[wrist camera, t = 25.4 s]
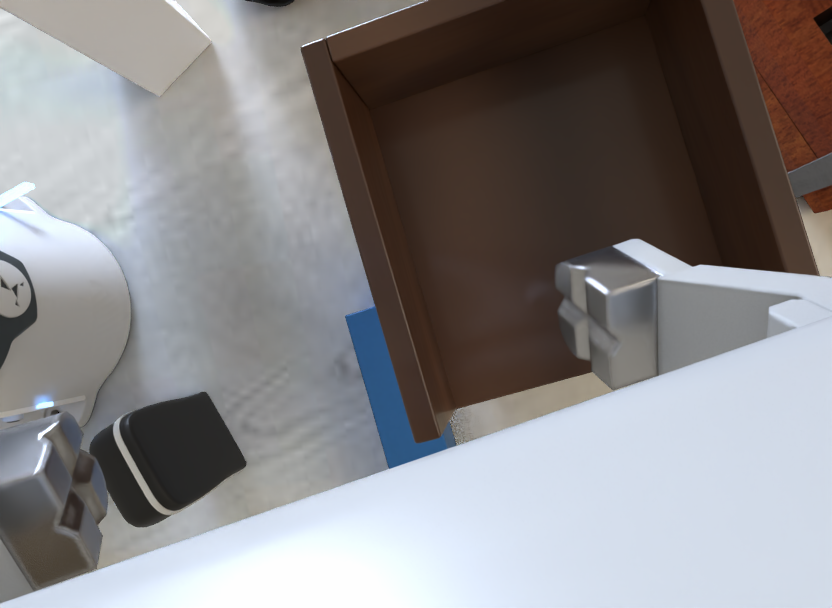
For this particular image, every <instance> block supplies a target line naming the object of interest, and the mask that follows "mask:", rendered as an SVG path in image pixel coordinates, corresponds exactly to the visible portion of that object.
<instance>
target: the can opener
mask: <svg viewBox="0 0 832 608" xmlns="http://www.w3.org/2000/svg"><path fill="white" fill-rule="evenodd" d="M246 1H251V2H258V3H261V4H264V5H268V6H274V7H281V6H286V5H288V4H290V3H292V2H293V1H294V0H246Z"/></svg>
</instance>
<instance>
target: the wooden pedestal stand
mask: <svg viewBox="0 0 832 608" xmlns="http://www.w3.org/2000/svg"><path fill="white" fill-rule="evenodd" d="M301 53H302V56H303V59H304V63H305V66H306V70H307V73H308V77H309V80H310V83H311V87H312V90H313V94H314V97H315V101H316V104H317V108H318V111H319V114H320V118H321V121H322V125H323V128H324V132H325V135H326V139H327V142H328V145H329V149H330V152H331V156H332V159H333V163H334V166H335V170H336V173H337V176H338V180H339V183H340V187H341V190H342V194H343V197H344V200H345V204H346V207H347V211H348V214H349V218H350V221H351V225H352V228H353V231H354V235H355V238H356V242H357V245H358V249H359V252H360V256H361V259H362V262H363V266H364V269H365V273H366V276H367V280H368V283H369V287H370V290H371V293H372V297H373V300H374V304H375V307H376V311H377V314H378V318H379V321H380V324H381V328H382V331H383V335H384V338H385V342H386V345H387V348H388V352H389V355H390V359H391V362H392V366H393V369H394V373H395V376H396V379H397V383H398V386H399V390H400V393H401V397H402V400H403V404H404V407H405V410H406V414H407V417H408V421H409V424H410V428H411V431H412V435H413V438H414V441H415V443H417V444H419V443H423V442H427V441H430V440H434V439H438V438H440V437H441V436H442V434H443V432H444V430H445V428H446V426H447V424H448V423H449V421H450V419H451V417H452V415H453V413H454V411H455V409H458V408H462V407H465V406H469V405H473V404H476V403H480V402H484V401H487V400H491V399H495V398H498V397H502V396H506V395H509V394H513V393H517V392H521V391H524V390H528V389H532V388H535V387H539V386H543V385H546V384H550V383H554V382H557V381H561V380H565V379H568V378H572V377H576V376H579V375H583V374H587V373H590V372H592V371H591V361H587V360H583V359H579V358H577V357H576V356H575V355H574V354H573V353H572V352H571V351H570V349H569V348H568V346H567V345H566V343H565V342H564V339H563V336H562V333H561V330H560V328H559V320H558V312H557V310H558V308H559V306H560V304H561V303H562V301H563V299H564V296H563V295H562V294H561V293H560V292H559V291H558V290H557V289H556V288H555V278H554V274H555V267H556V265H557V264H559V263H561V262H563V261H566V260H569V259H572V258H575V257H578V256H581V255H584V254H587V253H590V252H593V251H596V250H599V249H603V248H606V247H609V246H614V245H616V244H619V243H622V242H625V241H628V240H630V239H640V240H642V241H644V242H646V243H648V244H650V245H652V246H654V247H656V248H658V249H659V250H661V251H663V252H665V253H667V254H669V255H671V256H673V257H675V258H677V259H678V260H680V261H682V262H684V263H686V264H688V265H690V266H692V267H694V266H698V265H710V266H721V267H731V268H742V269H752V270H763V271H773V272H784V273H794V274H805V275H815V276H820V275H819V271H818V268H817V265H816V262H815V259H814V256H813V252H812V249H811V246H810V243H809V240H808V236H807V233H806V230H805V227H804V224H803V221H802V217H801V214H800V211H799V208H798V205H797V201H796V198H795V195H794V192H793V189H792V186H791V182H790V179H789V176H788V173H787V170H786V166H785V163H784V160H783V157H782V154H781V151H780V147H779V144H778V141H777V138H776V135H775V131H774V128H773V125H772V122H771V119H770V116H769V112H768V109H767V106H766V103H765V100H764V96H763V93H762V90H761V87H760V84H759V81H758V77H757V74H756V71H755V68H754V65H753V61H752V58H751V55H750V52H749V49H748V46H747V42H746V39H745V36H744V33H743V30H742V26H741V23H740V20H739V17H738V14H737V11H736V7H735V4H734V1H733V0H426V1H423V2H420V3H417V4H415V5H412V6H409V7H407V8H404V9H401V10H398V11H396V12H393V13H390V14H387V15H385V16H382V17H379V18H376V19H374V20H371V21H368V22H366V23H363V24H360V25H357V26H355V27H352V28H349V29H346V30H344V31H341V32H338V33H335V34H333V35H330V36H327V37H326V40H325V39H320V40H317V41H314V42H312V43H309V44H306V45H303V46H302V47H301Z"/></svg>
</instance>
